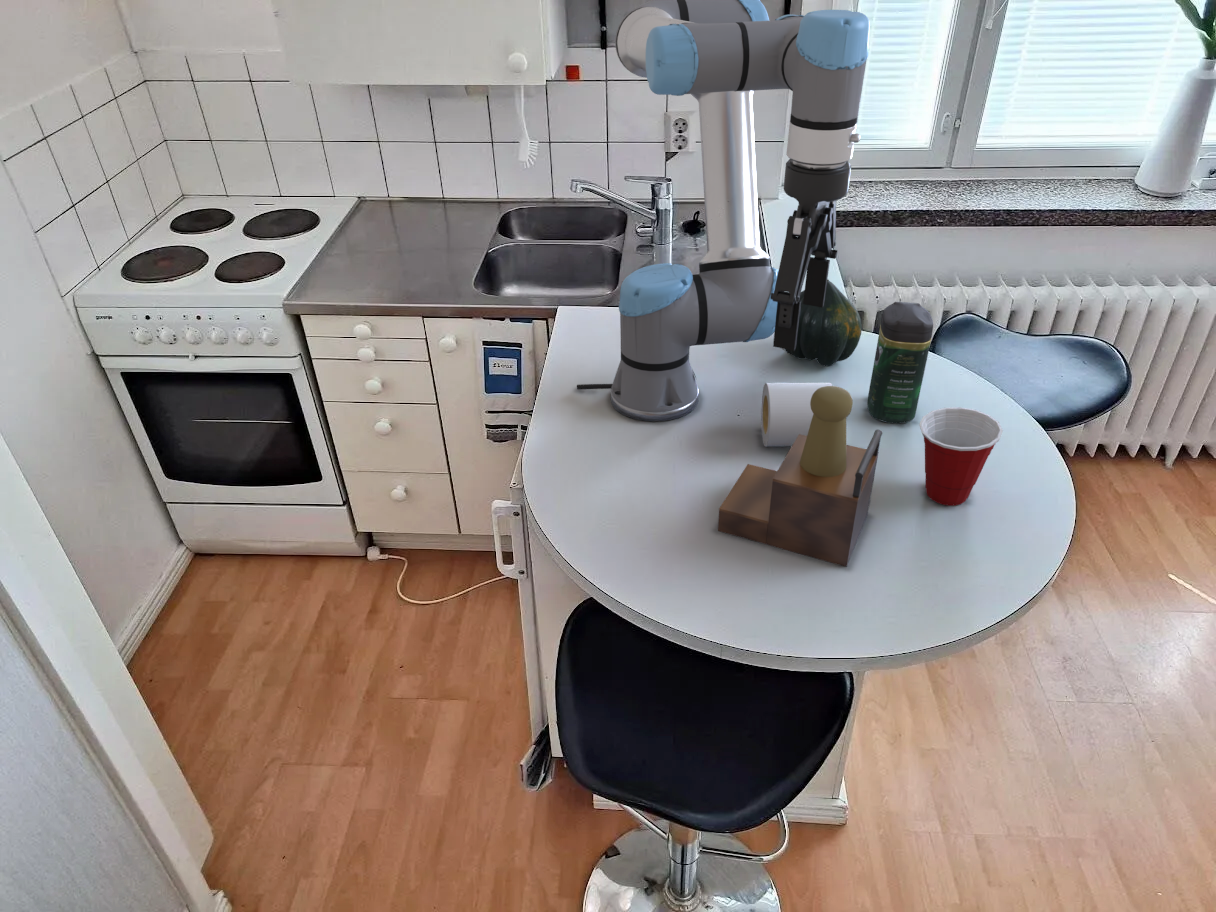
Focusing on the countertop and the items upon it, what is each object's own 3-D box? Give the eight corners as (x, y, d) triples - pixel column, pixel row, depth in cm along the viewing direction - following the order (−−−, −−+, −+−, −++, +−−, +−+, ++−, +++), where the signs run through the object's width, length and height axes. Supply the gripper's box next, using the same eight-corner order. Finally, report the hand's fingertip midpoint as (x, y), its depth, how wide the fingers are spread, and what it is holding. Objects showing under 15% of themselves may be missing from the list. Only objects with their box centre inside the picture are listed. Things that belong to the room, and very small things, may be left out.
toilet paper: (766, 458, 136) (772, 403, 131) (759, 425, 144) (764, 371, 139) (831, 458, 136) (839, 402, 130) (820, 425, 144) (827, 371, 139)
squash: (808, 358, 152) (855, 284, 151) (751, 331, 163) (795, 262, 162) (846, 389, 162) (890, 319, 161) (790, 362, 173) (831, 296, 171)
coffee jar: (917, 427, 143) (939, 323, 132) (868, 423, 144) (885, 320, 134) (912, 398, 151) (932, 298, 140) (865, 395, 152) (881, 296, 142)
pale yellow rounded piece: (816, 446, 119) (826, 375, 112) (855, 463, 115) (867, 390, 109) (790, 464, 115) (798, 391, 109) (829, 482, 111) (840, 408, 105)
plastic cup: (895, 476, 131) (908, 407, 125) (964, 471, 132) (981, 402, 125) (922, 519, 122) (938, 448, 116) (997, 514, 123) (1017, 443, 116)
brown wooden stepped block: (717, 531, 121) (723, 442, 113) (745, 485, 130) (752, 400, 122) (847, 567, 114) (862, 475, 106) (867, 516, 123) (883, 428, 115)
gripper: (823, 196, 91) (801, 373, 103) (874, 136, 109) (850, 293, 121) (754, 187, 94) (740, 361, 106) (815, 130, 112) (798, 284, 124)
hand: (799, 325), depth 113 cm, fingers open, 13 cm apart
